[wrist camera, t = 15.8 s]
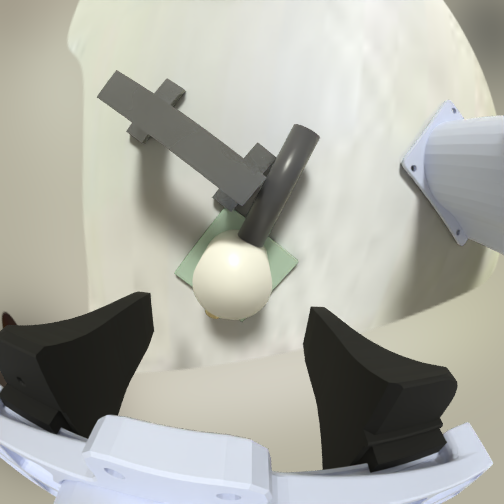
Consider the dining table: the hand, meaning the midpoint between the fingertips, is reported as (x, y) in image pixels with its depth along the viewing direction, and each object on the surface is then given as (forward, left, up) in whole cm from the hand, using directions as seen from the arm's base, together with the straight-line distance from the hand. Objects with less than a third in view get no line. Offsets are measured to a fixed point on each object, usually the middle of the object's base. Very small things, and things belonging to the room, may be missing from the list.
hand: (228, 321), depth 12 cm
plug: (+1, -3, -7) cm, 8 cm away
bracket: (+7, -5, -7) cm, 11 cm away
